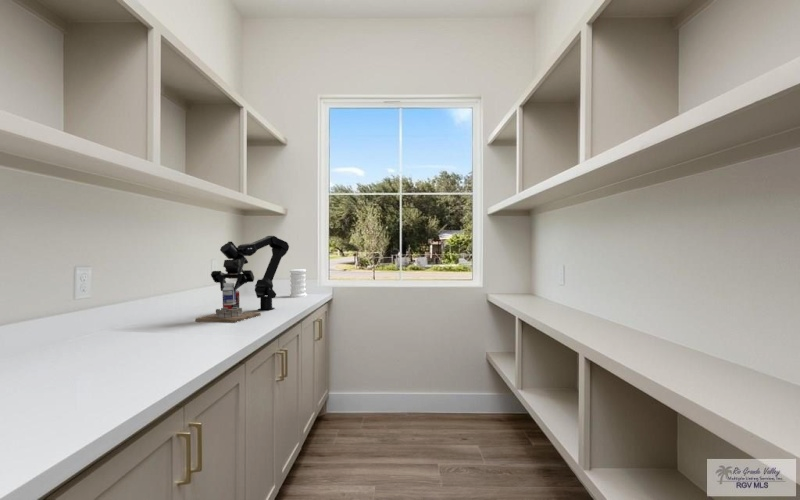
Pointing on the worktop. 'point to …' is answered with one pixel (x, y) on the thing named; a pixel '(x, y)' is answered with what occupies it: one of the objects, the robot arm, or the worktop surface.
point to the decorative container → (298, 283)
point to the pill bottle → (229, 294)
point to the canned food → (234, 304)
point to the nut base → (230, 319)
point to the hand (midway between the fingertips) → (227, 290)
